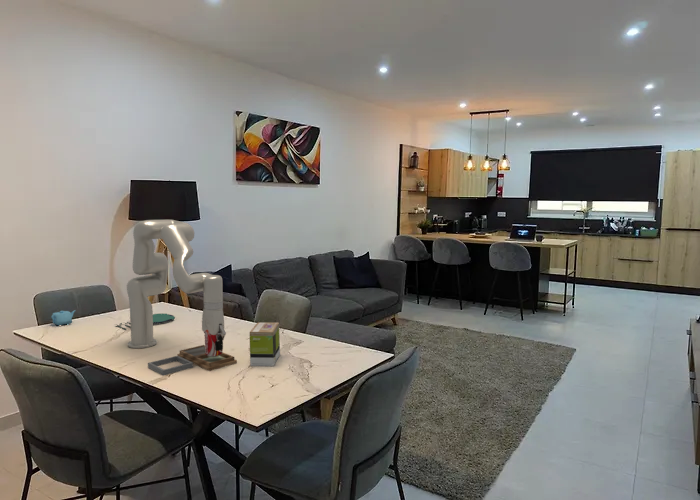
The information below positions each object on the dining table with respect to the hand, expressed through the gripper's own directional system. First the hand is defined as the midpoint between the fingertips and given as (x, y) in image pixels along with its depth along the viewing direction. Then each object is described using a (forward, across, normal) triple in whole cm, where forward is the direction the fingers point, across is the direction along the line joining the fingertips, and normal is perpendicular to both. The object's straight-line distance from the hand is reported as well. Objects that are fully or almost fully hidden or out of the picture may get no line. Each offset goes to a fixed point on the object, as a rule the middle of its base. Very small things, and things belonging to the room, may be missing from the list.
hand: (214, 347), depth 200 cm
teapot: (+7, -110, -22) cm, 113 cm away
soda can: (+3, 0, 0) cm, 3 cm away
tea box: (+7, +12, +17) cm, 22 cm away
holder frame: (+7, -8, -15) cm, 18 cm away
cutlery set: (+7, -84, +10) cm, 85 cm away
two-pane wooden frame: (+7, -6, 0) cm, 9 cm away
